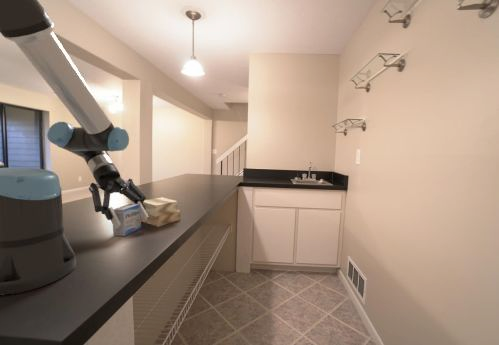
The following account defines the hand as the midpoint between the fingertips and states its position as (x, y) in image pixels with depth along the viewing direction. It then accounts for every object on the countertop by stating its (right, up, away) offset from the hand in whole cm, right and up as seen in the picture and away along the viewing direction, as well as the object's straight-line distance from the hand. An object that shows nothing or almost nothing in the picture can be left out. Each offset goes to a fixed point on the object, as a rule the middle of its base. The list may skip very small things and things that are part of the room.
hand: (132, 222), depth 75 cm
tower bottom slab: (+3, -3, +15) cm, 15 cm away
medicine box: (-3, -4, +2) cm, 5 cm away
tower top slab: (+3, +1, +14) cm, 15 cm away
